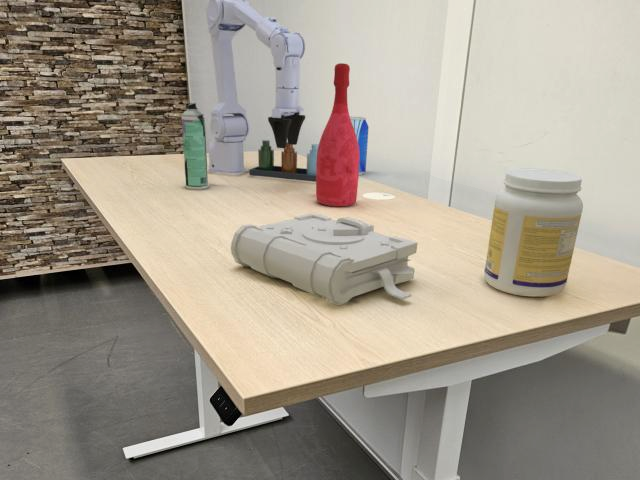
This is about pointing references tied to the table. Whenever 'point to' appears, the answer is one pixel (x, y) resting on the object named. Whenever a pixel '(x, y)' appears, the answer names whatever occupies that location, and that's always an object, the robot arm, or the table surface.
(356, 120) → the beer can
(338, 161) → the wine bottle
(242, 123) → the robot arm
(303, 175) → the tray
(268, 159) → the bottle row
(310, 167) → the blue bottle
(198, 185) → the spray can
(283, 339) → the table surface
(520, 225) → the supplement tub
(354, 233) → the book
